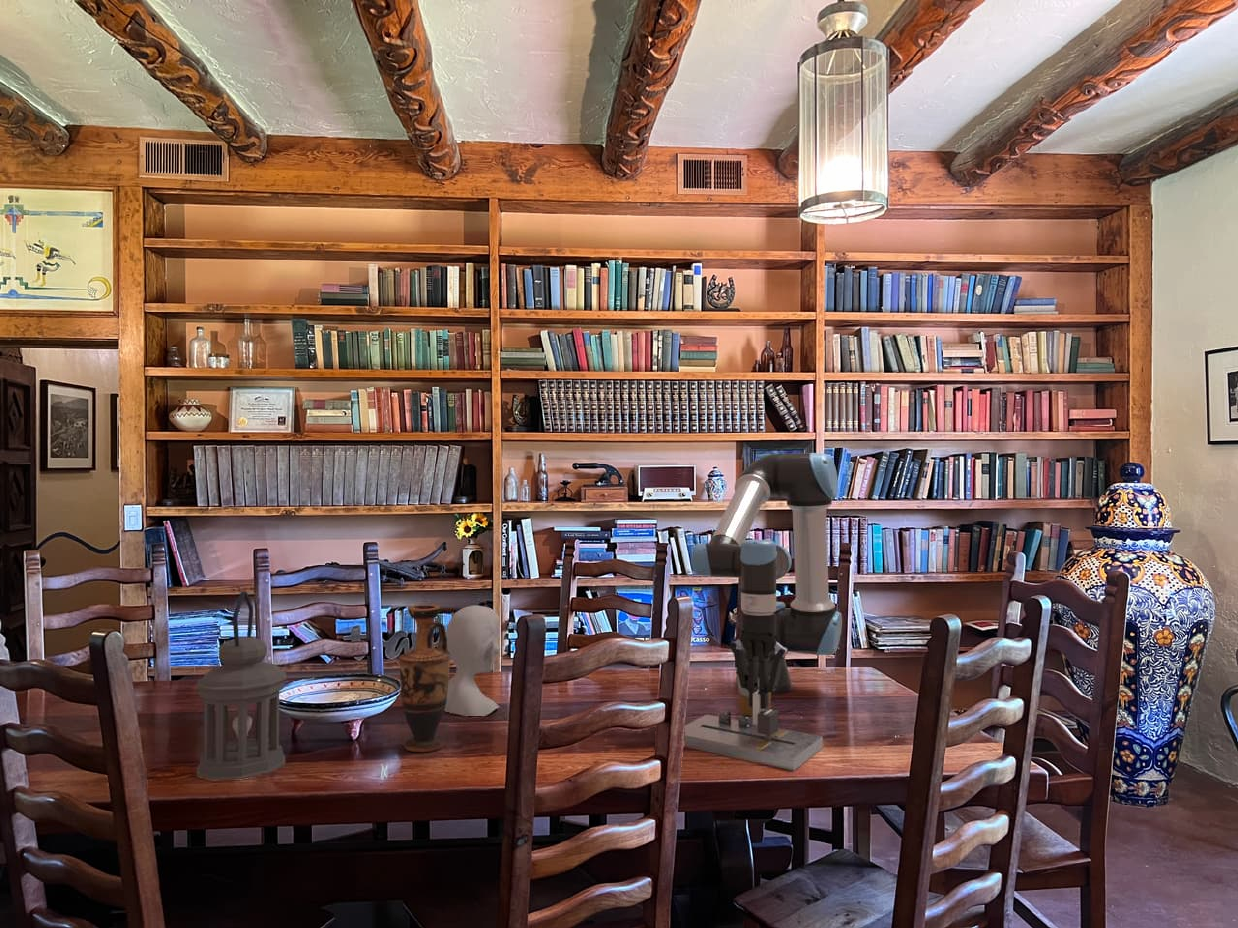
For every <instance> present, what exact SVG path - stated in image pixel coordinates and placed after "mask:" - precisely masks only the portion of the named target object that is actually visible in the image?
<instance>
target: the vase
mask: <svg viewBox="0 0 1238 928" xmlns="http://www.w3.org/2000/svg"><path fill="white" fill-rule="evenodd" d="M441 608H442V607H441V606H440V605H436V604H417V605H411V606H409V607H407V611H408V613H409V615H410V617H411V619H413V620H414V621H415V623H416V645H415V647H414V649H413V650H412V651H411V650H410V652H405V653H403V654H400V655H399V656H398V664H399V675H400V676H399V677H400V688H401V689H400V692H401V695H400V696H401V701H402V708H403V714H404V717H405V719H406V722H407V724H408V727H409V729H410V731H411V733H412V737H411V738H409V739H407V740H406V741H405V743H404V749H405V750H406V751H408V752H412V753H422V754H423V753H430V752H436V751H438V750H441V749H442V748H443V747H445V744H446V742H445V739H444V738H443V737H442V736H440V735H436V734H437V730H438V728H439V725H440V723H441V721H442V718H443V715H444V713H445V712H444V710H445V706H446V701H447V694H448V682H449V680H450V663H451V658H450V656H451V655H450V653H449V651H448V648H447V637H446V632H447V631H446V628H445V625H444V624H443V623H442V622H441V621H440V622H439V621H438V620H435V619H436V618H438V615H439V613H440V612H441ZM436 629H437V630H438V635H439V636H438V637H439V638H438V644H437V646H436V647H435V646H434V642H433V641H434V634H435V631H436Z"/></svg>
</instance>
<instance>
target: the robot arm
mask: <svg viewBox="0 0 1238 928" xmlns="http://www.w3.org/2000/svg"><path fill="white" fill-rule="evenodd" d="M838 493H839V480H838V473H837V469H836V465H835V463H834V461H833V458H832V456H830V455H829V454H827V453H818V452H805V453H804V452H801V453H799V452H797V453H796V452H795V453H771V454H767V455H764V456H762V457H760V458H758V459H756V460H754V461H753V462H752V463H751V464H749V465H748V466H747V467H746V468H744V469H743V471H742V472H741V473H740V475H739V476H738V478H737V479H736V481H735V484H734V493H733V496H731V500H730V501H729V503H728V505H727V507H726V509H725V512H724V513H723V515H722V517H721V519H720V520H719V522H718V524H717V526H716V528H715V530H714V532H713V534H712V536H711V538H710V540H709V542H708V543H706V542H702V543H697V544H695V545H694V546H693V549H692V551H691V553H692V554H691V565H692V569H693V571H694V573H695V574H696V575H700V576H707V577H711V578H712V577H715V578H716V577H720V578H740V610H741V611H742V612H741V614H740V631H741V632H740V634H739V638H737V640H735V641H732V642H730V643H729V648H730V650H731V651H732V654H733V656H734V661H735V667H736V671H738V676H739V681H740V686H741V687H742V688H745V689H747V690H748V691H749V705H750V707H753V724H755V725H758V714H759V713H760V712H762V711H764V709H766V708H768V693H771V695H777V694H783V693H788V692H790V691H791V690H792V686H793V684H792V678H791V674H790V672H789V668H788V665H787V661H786V656H787V654H788V653H797V654H806V655H816V656H832V655H834V654H835V652H836V651H837V650H838V647H839V644H840V641H841V640H840V639H841V635H842V627H843V615H842V613H841V612H839V611H838V610H836V605H835V603H834V602H833V600H831V599H830V596H829V595H830V594H829V590H830V589H829V571H828V570H829V563H828V559H829V558H828V536H827V535H828V532H827V530H828V529H827V510H828V508H829V507H830V506H831V505H832V502H833V501H832V499H835V498H837V497H838ZM770 498H786V506H787V507H789V509H790V510H792V525H793V527H792V528H793V553H794V554H793V555H794V578H795V581H794V584H795V598H794V600H792V601H791V602H790V608H786V603H785V602H784V601H777V580H778V579H782V578H784V577H785V575H786V574H788V572H789V571H790V569H791V568H792V565H793V564H792V563H793V560H792V556H791V554H790V552H789V550H787V549H786V547H784V546H782V545H779V544H778V545H777V543H775V542H774V541H773V540H770V539H747V536H748V535H749V532H750V531H751V529H752V526H753V524H754V522H755V519H756V517H757V515H758V514H759V511H760V510H761V507H762V505H764V504H766V502H768V500H769V499H770ZM746 660H748V670H747V665H746ZM758 661H759V687H758ZM769 663H770V666H771V668H772V670H771V674H770V679H769ZM735 687H736V688H737V689H738V680H737V676H736V677H735ZM758 689H759V691H757V690H758Z"/></svg>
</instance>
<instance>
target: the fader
mask: <svg viewBox="0 0 1238 928" xmlns="http://www.w3.org/2000/svg"><path fill="white" fill-rule="evenodd" d="M778 728H779V710H775V709H774V710H773V709H770V710H769V709H765V710H764V711H762V712H760V713H759V714H758V733H760V734H765V739H766V740H771V735H772V734H773V733H775V732H776V731H778Z"/></svg>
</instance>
